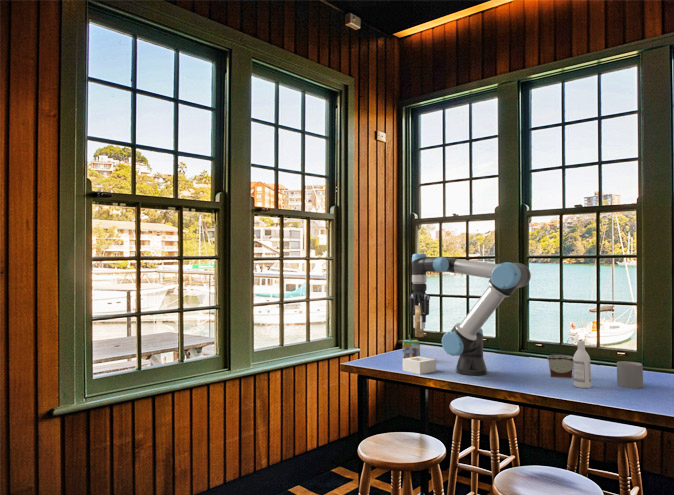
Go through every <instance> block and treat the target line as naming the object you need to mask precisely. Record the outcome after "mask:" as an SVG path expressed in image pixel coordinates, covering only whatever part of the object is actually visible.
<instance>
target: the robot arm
mask: <svg viewBox="0 0 674 495" xmlns="http://www.w3.org/2000/svg"><path fill="white" fill-rule="evenodd" d="M411 256H412V257H411V283H412V284H411V290H412V293H411V294H408V297H409V298H408V299H409V314H411V315H412V321H413V329H415V305H420V308H421V316H420V329H424V330H425V329H426V322H427V316H429V314H430V300H431V299H430V298H431V296H430V295H428V294H427V293H426V291H427V273H451V274H452V273H453V274H459V275H465V276H472V277H479V278H485V279H488V284H489V285H488V287H487V288H486V290H485V291H484V292H483V293H482V295H481V296H480V297H479V299H478V300H477V301H476V302H475V304H474V306H472V308H471V309H470V310H469V312H468V313H467V314H466V316H465V317H464V318H463V320H462V321H461V322H456V323H455V324H454V326H453V327H452V329H451V330H450V331H447V332H445V333H444V334H443V336H442V338H441V345H442V348H443V350H444V352H445V353H447V355H450V356H452V357H458V360H457V363H456V367H455V373H457V374H461V375H467V376H483V375H487V374H488V368H487V365H486V362H485V359H484V332H483V329H482V327H483V326H484V325H485V324H486V322H487V321H488V320H489V318H490V317H491V315H492V314H493V313H494V312H495V311H496V309H497V308H498V307H499V305H500V304H501V303H502V302H503V301H504V299H505V298H508V297H511V296H512V295H513V293H514V292H515V291H516V290H517V289H520V288H523V287H525V286H527V285H528V283H529V282H530V280H531V277H532V274H531V271H530V268H529V267H528V266H527V265H525V264H523V263H522V262H521V263H520V262H508V261H507V262H506V261H505V262H502V263H499V264H498V263H493V262H492V263H491V262H483V261H475V260H467V259H463V258H462V259H460V258H454V257H445V256H443V257H442V256H434V257H433V256H432V257H427V254H426V253H413V254H412V255H411Z"/></svg>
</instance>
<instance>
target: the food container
mask: <svg viewBox="0 0 674 495" xmlns="http://www.w3.org/2000/svg"><path fill="white" fill-rule="evenodd" d="M547 361H548V366H549V373H550V378H560V379H561V378H562V379H573V356H571V355H564V354H550V355H548V356H547Z"/></svg>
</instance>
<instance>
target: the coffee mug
mask: <svg viewBox="0 0 674 495" xmlns="http://www.w3.org/2000/svg"><path fill="white" fill-rule="evenodd" d="M643 370H644V368H643V364H642V363H641V362H635V361H625V360H624V361H623V360H621V361H616V382H617V383H616V384H617V386H618V387H621V388H625V389H632V390H633V389H636V390H639V389H644V373H643V372H644V371H643Z"/></svg>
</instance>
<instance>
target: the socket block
mask: <svg viewBox="0 0 674 495" xmlns="http://www.w3.org/2000/svg"><path fill="white" fill-rule="evenodd" d="M402 371H403V372H408V373H413V374H416V375H423V374H428V373H434V372H437V360H436V358H429V357H423V356H420V357H419V356H418V357H411V358H404V359H403V358H402Z"/></svg>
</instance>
